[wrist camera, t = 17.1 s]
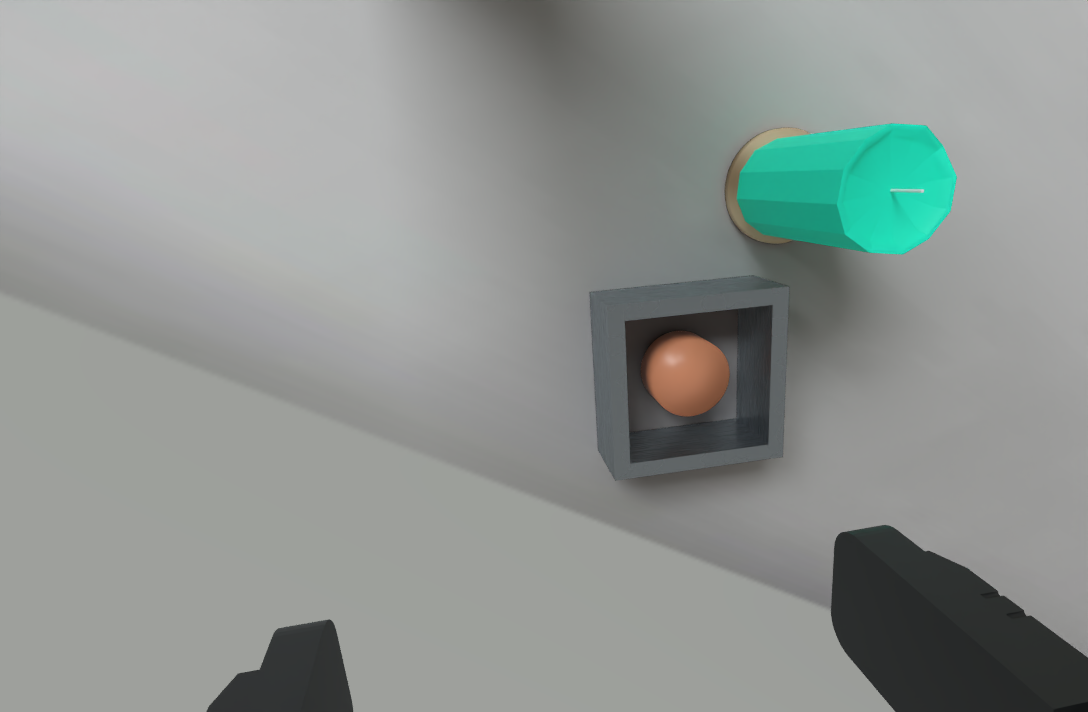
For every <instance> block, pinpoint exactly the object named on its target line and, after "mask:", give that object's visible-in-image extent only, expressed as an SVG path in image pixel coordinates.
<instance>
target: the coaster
mask: <svg viewBox="0 0 1088 712" xmlns="http://www.w3.org/2000/svg"><path fill="white" fill-rule="evenodd" d="M808 134H810V133H808V132H806V131H804V130H800V129H796V128H779V129H772V130H769V131H765V132H763V133H761V134H759V135H757V136H755V137H754V138H752V139H751V140H750V141H749V142H747V143H746V144H745V145H744V146H743V147H742V148H741V149H740V151H739V152H738V153H737V155H736V156H735V158H734V160H733V161H732V164H731V166H730V168H729V171H728V174H727V178H726V184H725V200H726V205H727V209H728V212H729V214H730V217H731V219H732V220H733V222H734V224H735V225H736V226H737V227H738V228H739V230H740V231H742V232H743V233H744V234H745V235H747V236H748V237H750V238H752V239H754V240H757V241H761V242H765V243H772V244H780V243H786V242H790V241H793V240H792V239H786V238H780V237H774V236H768V235H763V234H762V233H760V232H759V231H758V230H756V229H755V228H753V227H752V226H751V225H749V224H748V223H747V222H745V220H744V217H743V214H742V212H741V209H740V207H739V204H738V201H737V191H738V183H739V176H740V172H741V170H742V169H743V167H744V166H745V164H746V163H747V161H748V160H749V158H750V157H751V155H752V154H753V152H754V151H755V150H757V149H758V148H760V147H762V146H764V145H766V144H768V143H770V142H772V141H773V140H775V139H777V138H785V137H792V136H800V135H808Z"/></svg>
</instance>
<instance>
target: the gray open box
mask: <svg viewBox="0 0 1088 712" xmlns="http://www.w3.org/2000/svg"><path fill="white" fill-rule="evenodd" d="M788 308H789V286H786V285H783V284H780V283H776V282H773V281H770V280H767V279H763V278H760V277H757V276H754V275H752V276H742V277H732V278H723V279H713V280H703V281H693V282H684V283H674V284H664V285H654V286H645V287H635V288H625V289H615V290H606V291H596V292H590V310H591V328H592V346H593V365H594V383H595V402H596V420H597V438H598V451H599V453H600V454H601V456H602V458H603V460H604V462H605V463H606V465H607V467H608V469H609V471H610V472H611V474H612V476H613V478H614V479H615V481H616V480H623V479H630V478H637V477H644V476H651V475H658V474H665V473H673V472H680V471H687V470H694V469H701V468H708V467H715V466H722V465H729V464H736V463H743V462H750V461H757V460H764V459H771V458H778V457H783V437H784V411H785V385H786V359H787V334H788ZM731 309H738V358H737V418H736V419H729V420H721V421H714V422H706V423H699V424H691V425H683V426H676V427H668V428H661V429H653V430H646V431H638V432H631V433H629V417H628V391H627V365H626V339H625V321H630V320H639V319H648V318H658V317H667V316H676V315H685V314H694V313H703V312H712V311H722V310H731Z"/></svg>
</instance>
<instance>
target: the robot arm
mask: <svg viewBox="0 0 1088 712" xmlns="http://www.w3.org/2000/svg"><path fill="white" fill-rule="evenodd" d="M831 616H832V622H833V626H834V630H835V633H836V636H837V638H838V640H839V642H840V644H841V646H842V648H843V649H844V651H845V652H846V654H847V655H848V656H849V657H850V658H851V660H852V661H853V662H854V663H855V664H856V665H857V667H858V668H859V669H860V670H861V671H862V672H863V674H864V675H865V676H866V677H867V679H868V680H869V681H870V682H871V683H872V684H873V686H874V687H875V688H876V689H877V690H878V692H879V693H880V694H881V695H882V696H883V697H884V699H885V700H886V701H887V702H888V703H889V705H890V706H891V707H892V708H893V709H894V710H895V712H1088V658H1087V657H1086V656H1085V655H1083V654H1082V653H1081V652H1079V651H1078V650H1077V649H1075V648H1074V647H1073V646H1071V645H1070V644H1068V643H1067V642H1066V641H1064V640H1063V639H1062V638H1060V637H1059V636H1058V635H1056V634H1055V633H1054V632H1052V631H1051V630H1050V629H1048V628H1047V627H1046V626H1044V625H1043V624H1042V623H1040V622H1039V621H1038V620H1036V619H1035V618H1033V617H1032V616H1026V615H1025V613H1024V610H1023V609H1021V608H1020V607H1019V606H1017V605H1016V604H1015V603H1013V602H1012V601H1011V600H1009V599H1008V598H1007V597H1005V596H1000V595H999V594H998V591H997V590H996V589H994V588H993V587H992V586H990V585H989V584H988V583H986V582H985V581H984V580H982V579H981V578H980V577H978V576H977V575H976V574H974V573H973V572H972V571H970V570H969V569H967V568H966V567H963V566H961V565H959V564H957V563H955V562H952V561H950V560H948V559H946V558H944V557H941V556H939V555H937V554H935V553H933V552H930V551H926V552H925V551H923V550H922V549H921V548H920V547H918V546H917V545H916V544H914V543H913V542H912V541H911V540H909V539H908V538H907V537H905V536H904V535H903V534H901V533H900V532H899V531H898V530H896V529H895V528H893V527H891V526H888V525H882V526H876V527H870V528H865V529H859V530H853V531H847V532H842V533H840V534H839V535H838V536H837V538H836V541H835V546H834V564H833V584H832V603H831ZM207 712H353V706H352V700H351V695H350V690H349V686H348V681H347V677H346V673H345V668H344V664H343V659H342V654H341V650H340V646H339V641H338V637H337V633H336V629H335V626H334V623H333V622H332V621H331V620H324V621H318V622H312V623H307V624H301V625H296V626H289V627H284V628H279V629H277V630H276V631H275V633H274V634H273V637H272V639H271V642H270V644H269V647H268V650H267V652H266V655H265V657H264V660H263V663H262V665H261V668H260V670H256V671H250V672H245V673H239V674H237V675H236V677H235V678H234V679H233V680H232V681H231V682H230V683H229V685H228V686H227V687H226V688H225V689H224V690H223V691H222V692H221V693H220V695H219V696H218V697H217V698H216V699H215V700H214V701H213V703H212V704H211V705H210V706H209V707H208V710H207Z"/></svg>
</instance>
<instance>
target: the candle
mask: <svg viewBox="0 0 1088 712" xmlns="http://www.w3.org/2000/svg"><path fill="white" fill-rule="evenodd" d="M956 179H957V176H956V174H955V172H954V169H953V167H952V165H951V163H950V160H949V158H948V156H947V154H946V151H945V149H944V147H943V145H942V144H941V143H940V142H939V140H938V139H937V138H936V137H935V135H934V134H933V133H932V132H931V131H930V129H929V128H928V127H927V126H926V125H909V124H884V125H877V126H869V127H861V128H854V129H846V130H838V131H831V132H823V133H815V134H808V135H800V136H792V137H785V138H777V139H775V140H773V141H772V142H770V143H768V144H766V145H764V146H762V147H760V148H758V149H757V150H755V151H754V152H753V154H752V155H751V157H750V158H749V160H748V161H747V163H746V164H745V166H744V167H743V169H742V170H741V172H740V176H739V183H738V191H737V201H738V204H739V207H740V209H741V212H742V214H743V217H744V220H745V222H747V223H748V224H749V225H751V226H752V227H753V228H755V229H756V230H758V231H759V232H760V233H762V234H763V235H768V236H774V237H780V238H786V239H792V240H798V241H803V242H809V243H815V244H821V245H827V246H833V247H839V248H845V249H851V250H857V251H863V252H869V253H885V254H904V253H906V252H908V251H909V250H911V249H913V248H914V247H916V246H918V245H919V244H921V243H923V242H924V241H926V240H928V239H929V238H930V237H931V236H932V234H933V233H934V232H935V230H936V229H937V228H938V226H939V225H940V224H941V223H942V221H943V220H944V219H945V217H946V216H947V215H948V214H949V212H950V211H951V206H952V201H953V195H954V190H955V184H956Z"/></svg>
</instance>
